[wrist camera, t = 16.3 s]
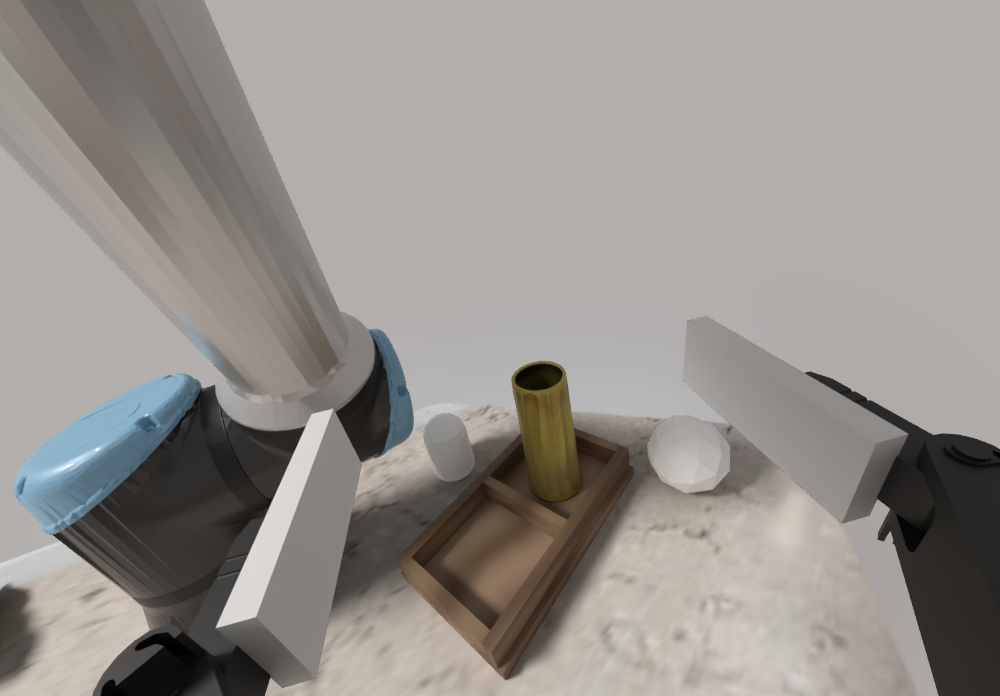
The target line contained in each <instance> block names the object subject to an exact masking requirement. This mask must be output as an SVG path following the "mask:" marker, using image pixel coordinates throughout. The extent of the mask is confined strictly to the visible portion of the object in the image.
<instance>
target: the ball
mask: <svg viewBox="0 0 1000 696" xmlns="http://www.w3.org/2000/svg"><path fill="white" fill-rule="evenodd" d="M647 451H648V459H649V461H650V463H651V465H652V466H653V468H654V470H655V471H656V473H657V475H658V476H659V478H660V480H661V481H662V482H664V483H666V484H668V485H670V486H672V487H674V488H676V489H678V490H680V491H682V492H684V493H693V492H702V491H708V490H713V489H714V488H715V486H716V485H717V484H718V483H719V482H720V481H721V480H722V479H723V478H724V477H725V476H726V475H727V474H728V472H729V471H730V445H729V444H728V442H727V441H726V440H725V438H724V437H723V436H722V435H721V433H720V432H719V431H718V429H717V428H716V427H715V426H714V424H711V423H708V422H705V421H703V420H700V419H697V418H694V417H691V416H672V417H671V418H669V419H667V420H666V421H664V422H662V423H661V424H659V425H658V426H656V427H655V429H654V431H653V433H652V435H651V437H650V440H649V442H648V444H647Z"/></svg>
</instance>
